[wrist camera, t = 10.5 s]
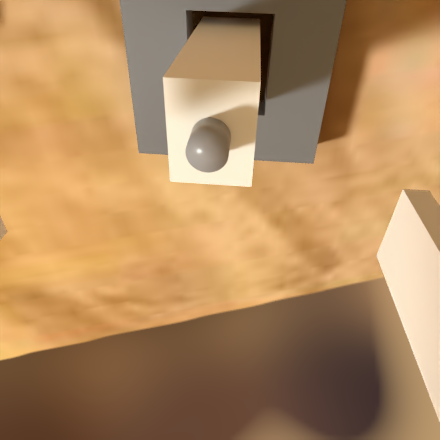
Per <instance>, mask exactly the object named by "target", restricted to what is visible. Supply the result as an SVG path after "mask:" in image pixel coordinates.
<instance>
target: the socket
mask: <svg viewBox="0 0 440 440" xmlns="http://www.w3.org/2000/svg"><path fill="white" fill-rule="evenodd" d="M346 1H347V0H120V6H121V14H122V22H123V30H124V38H125V46H126V54H127V62H128V70H129V78H130V86H131V94H132V101H133V109H134V117H135V125H136V133H137V141H138V149H139V153H147V154H164V155H168V144H167V130H166V116H165V102H164V88H163V76H164V75H165V73H166V72H167V70H168V69H169V67H170V66H171V64H172V63H173V61H174V60H175V58H176V57H177V55H178V54H179V52H180V51H181V49H182V48H183V46H184V45H185V43H186V42H187V40H188V39H189V37H190V36H191V34H192V33H193V11H217V12H242V13H267V14H273V17H272V28H271V38H270V48H269V58H268V68H267V78H266V89H265V99H264V101H259V108H258V119H257V130H256V141H255V152H254V160H262V161H279V162H295V163H311V164H313V163H314V158H315V153H316V148H317V144H318V139H319V134H320V129H321V124H322V119H323V114H324V109H325V104H326V99H327V95H328V90H329V85H330V80H331V75H332V70H333V65H334V60H335V55H336V50H337V45H338V41H339V36H340V31H341V26H342V21H343V16H344V11H345V6H346Z"/></svg>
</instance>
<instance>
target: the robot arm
mask: <svg viewBox="0 0 440 440" xmlns="http://www.w3.org/2000/svg"><path fill="white" fill-rule="evenodd" d="M6 233H7V230H6V228H5V225H4V223H3V221H2V219H1V216H0V240H1V239H2V238H3V236H4V235H5V234H6ZM377 258H378V261H379V263H380V266H381V269H382V271H383V274H384V277H385V279H386V282H387V285H388V287H389V290H390V292H391V295H392V298H393V300H394V303H395V305H396V308H397V311H398V313H399V316H400V319H401V321H402V324H403V327H404V329H405V332H406V335H407V337H408V340H409V343H410V345H411V348H412V350H413V353H414V355H415V358H416V361H417V364H418V366H419V369H420V371H421V374H422V377H423V379H424V382H425V385H426V387H427V390H428V393H429V395H430V398H431V401H432V403H433V406H434V408H435V411H436V414H437V416H438V419H439V422H440V206H439V204H438V203H437V201H436V200H435V198H434V197H433V195H432V194H431V192H430V191H428V190H410V189H403V191H402V193H401V196H400V198H399V201H398V203H397V206H396V208H395V211H394V213H393V216H392V218H391V221H390V223H389V226H388V228H387V231H386V233H385V236H384V238H383V241H382V244H381V246H380V249H379V251H378V254H377Z"/></svg>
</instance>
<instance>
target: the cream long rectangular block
mask: <svg viewBox="0 0 440 440" xmlns="http://www.w3.org/2000/svg"><path fill="white" fill-rule="evenodd" d="M260 86H261V58H260V19H252V18H227V17H203V18H202V19H201V21H200V22H199V24H198V25H197V27H196V28H195V30H194V31H193V33H192V34H191V36H190V37H189V39H188V40H187V42H186V43H185V45H184V46H183V48H182V49H181V51H180V52H179V54H178V55H177V57H176V58H175V60H174V61H173V63H172V64H171V66H170V67H169V69H168V70H167V72H166V73H165V75H164V76H163V88H164V102H165V116H166V130H167V144H168V158H169V172H170V182H185V183H201V184H216V185H232V186H247V187H251V186H252V175H253V164H254V152H255V141H256V130H257V119H258V108H259V97H260Z"/></svg>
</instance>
